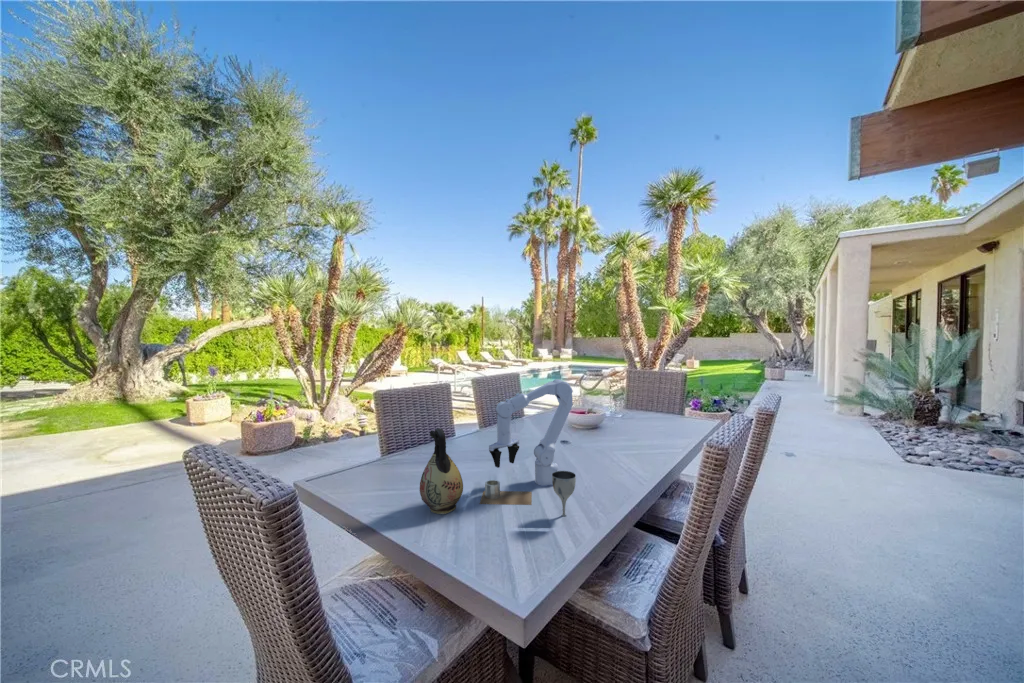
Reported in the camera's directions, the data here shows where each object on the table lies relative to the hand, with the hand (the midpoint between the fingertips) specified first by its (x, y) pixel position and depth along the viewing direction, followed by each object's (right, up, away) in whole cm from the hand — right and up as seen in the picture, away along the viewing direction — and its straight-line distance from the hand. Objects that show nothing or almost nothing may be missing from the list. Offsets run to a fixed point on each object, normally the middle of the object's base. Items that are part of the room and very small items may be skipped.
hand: (504, 464), depth 163 cm
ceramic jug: (-22, -10, -20) cm, 31 cm away
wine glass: (+21, -10, -27) cm, 35 cm away
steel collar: (-4, -9, -10) cm, 14 cm away
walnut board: (+1, -10, -12) cm, 15 cm away
